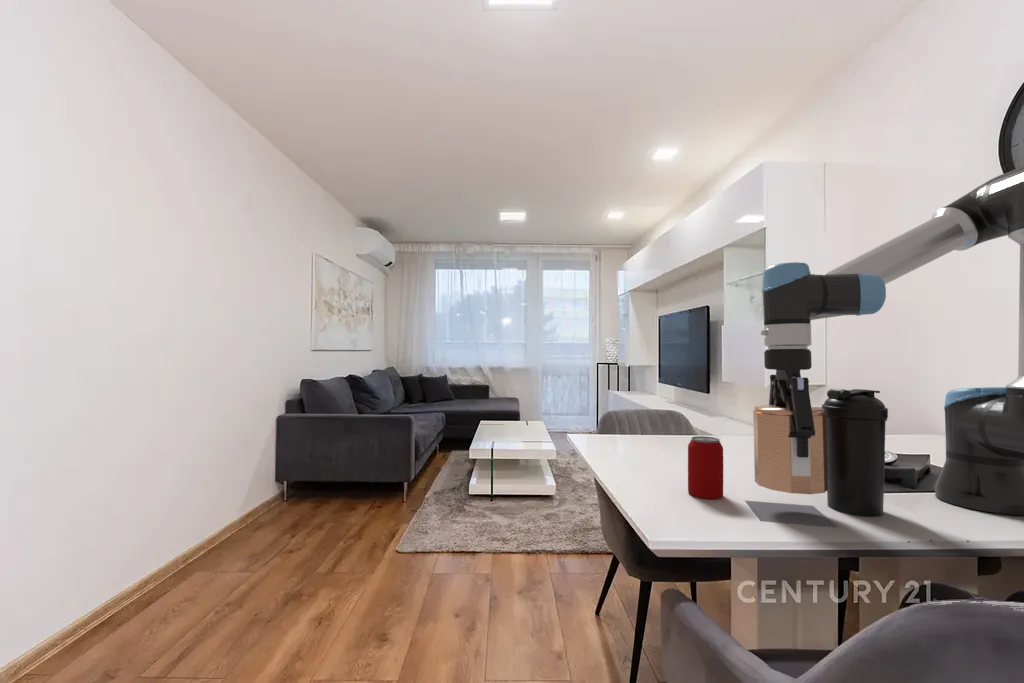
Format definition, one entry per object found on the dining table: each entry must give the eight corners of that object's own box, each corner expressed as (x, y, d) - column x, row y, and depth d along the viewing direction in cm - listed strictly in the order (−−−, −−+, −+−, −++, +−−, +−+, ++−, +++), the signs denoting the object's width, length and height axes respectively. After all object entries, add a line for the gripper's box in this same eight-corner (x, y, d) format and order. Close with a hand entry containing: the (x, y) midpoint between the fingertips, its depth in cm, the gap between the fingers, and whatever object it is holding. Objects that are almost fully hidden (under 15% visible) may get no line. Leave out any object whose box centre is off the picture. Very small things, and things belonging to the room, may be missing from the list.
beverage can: (717, 493, 102) (717, 436, 102) (728, 503, 95) (728, 442, 95) (684, 492, 102) (684, 435, 103) (692, 501, 95) (692, 441, 96)
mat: (812, 508, 92) (812, 505, 92) (838, 530, 80) (839, 527, 80) (744, 503, 95) (744, 500, 95) (760, 523, 83) (760, 520, 83)
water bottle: (904, 520, 86) (902, 391, 86) (849, 521, 85) (848, 391, 85) (859, 503, 96) (858, 387, 96) (810, 503, 95) (809, 387, 96)
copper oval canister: (813, 479, 92) (811, 405, 92) (837, 495, 81) (835, 412, 81) (749, 475, 94) (748, 404, 95) (764, 491, 84) (763, 411, 84)
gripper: (749, 349, 101) (751, 453, 100) (784, 347, 78) (787, 483, 77) (789, 348, 99) (791, 455, 98) (836, 346, 76) (840, 486, 75)
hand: (789, 467), depth 88 cm, fingers closed on copper oval canister, 11 cm apart
